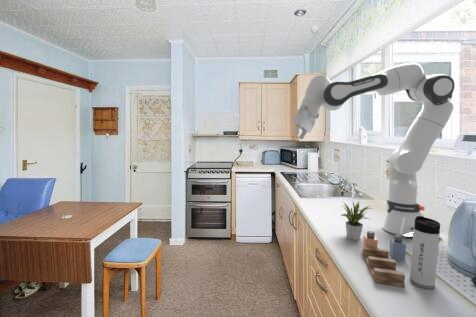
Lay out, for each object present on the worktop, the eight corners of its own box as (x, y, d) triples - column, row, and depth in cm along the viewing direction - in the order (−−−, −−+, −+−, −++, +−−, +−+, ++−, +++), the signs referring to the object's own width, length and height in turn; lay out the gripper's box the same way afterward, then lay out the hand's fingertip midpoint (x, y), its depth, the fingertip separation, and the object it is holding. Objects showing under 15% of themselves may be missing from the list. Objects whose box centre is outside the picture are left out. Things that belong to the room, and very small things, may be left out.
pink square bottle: (374, 251, 99) (375, 231, 99) (376, 255, 96) (378, 235, 95) (362, 249, 100) (364, 230, 100) (364, 254, 97) (366, 233, 96)
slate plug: (401, 255, 96) (402, 235, 95) (404, 260, 92) (406, 239, 91) (389, 254, 97) (390, 233, 96) (392, 258, 93) (394, 237, 92)
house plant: (378, 247, 103) (380, 207, 101) (341, 243, 106) (344, 205, 104) (367, 233, 117) (370, 198, 115) (335, 231, 120) (337, 196, 118)
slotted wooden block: (386, 258, 94) (387, 248, 93) (404, 287, 76) (405, 276, 75) (362, 254, 96) (363, 245, 96) (374, 282, 78) (375, 271, 77)
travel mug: (423, 276, 81) (428, 215, 80) (440, 289, 75) (446, 223, 73) (404, 276, 81) (409, 215, 79) (419, 289, 75) (425, 223, 73)
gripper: (310, 105, 110) (298, 135, 111) (319, 116, 128) (309, 142, 129) (296, 101, 113) (285, 131, 114) (307, 113, 131) (297, 139, 132)
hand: (298, 137), depth 122 cm, fingers open, 8 cm apart
